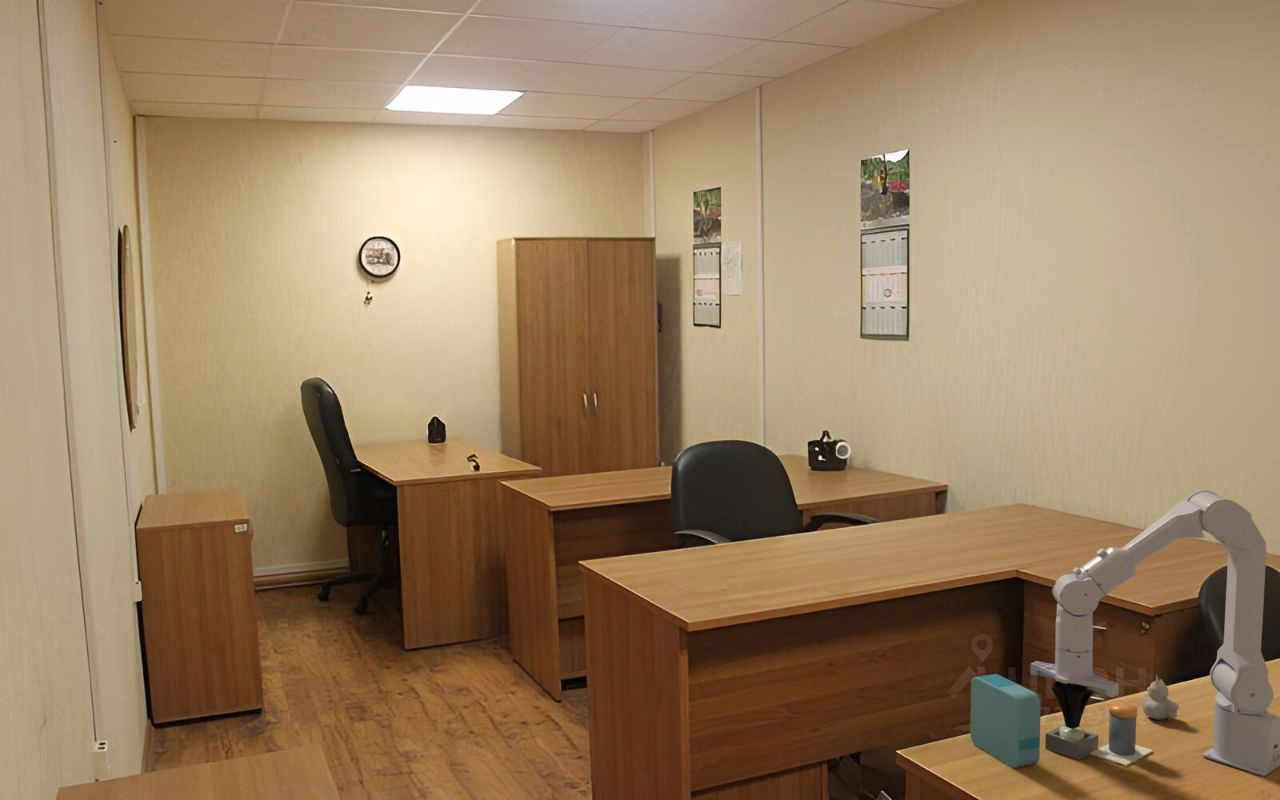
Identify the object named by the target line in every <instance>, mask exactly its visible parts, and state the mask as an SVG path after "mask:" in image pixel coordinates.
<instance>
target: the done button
mask: <svg viewBox="0 0 1280 800" xmlns="http://www.w3.org/2000/svg"><path fill="white" fill-rule="evenodd" d="M1059 727H1060V736H1061V737H1064V738H1067V739H1070V740H1073V741H1076V742H1078V741H1080V740H1082V739H1084V731H1085V730H1084V729H1083V728H1081V727H1080V726H1079V727H1077V728H1075V729H1071V728H1068V727H1066V726H1063V725H1061V726H1059Z"/></svg>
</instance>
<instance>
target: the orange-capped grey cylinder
mask: <svg viewBox="0 0 1280 800" xmlns="http://www.w3.org/2000/svg"><path fill="white" fill-rule="evenodd" d="M1108 714H1109V722H1108V723H1109V725H1108V727H1109V729H1108V730H1109V731H1108V744H1109V750H1110V751H1111V752H1112V753H1114V754H1117V755H1122V756H1132V755H1134V754H1135V745H1137V743H1136V739H1137V716H1138V708H1137V706H1135V705H1133V704H1131V703H1127V702H1122V701H1121V702H1119V701H1118V702H1117V701H1115V702H1111V703H1109V704H1108Z"/></svg>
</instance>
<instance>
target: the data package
mask: <svg viewBox="0 0 1280 800" xmlns="http://www.w3.org/2000/svg"><path fill="white" fill-rule="evenodd" d="M970 683H971V684H970V739H971V741H972V743H973V745H975V746H976V747H977V748H978V749H980V750H982V751H984V752H986V753H987V754H988V755H990V756H992V757H994V758H995V759H996V760H999V761H1000V762H1002V763H1004V764H1005V765H1007V766H1008V767H1011V768H1012V769H1017V768H1020V767H1026V766H1027V767H1028V766H1033V765H1036V764H1038V763H1039V760H1040V758H1041V757H1040V756H1041V753H1040V749H1041V748H1040V747H1041V737H1040V736H1041V699H1040V698H1039V695H1038V694H1037V693H1036V692H1034V691H1032V690H1030V689H1029V688H1026V687H1024V686H1022V685H1020V684H1019V683H1016V682H1014V681H1012V680H1010V679H1008V678H1006V677H1003V676H1002V675H999V674H997V673H994V674H987V675H980V676H976V677H973V678H972V680H971V682H970Z"/></svg>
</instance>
